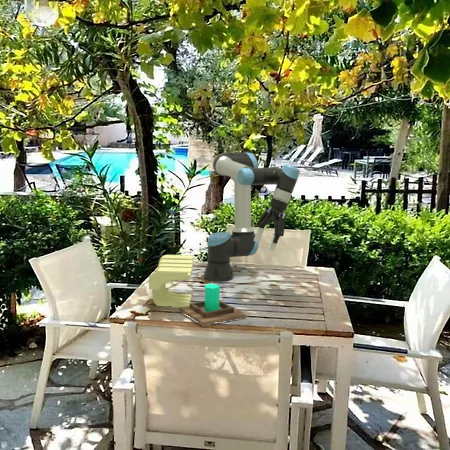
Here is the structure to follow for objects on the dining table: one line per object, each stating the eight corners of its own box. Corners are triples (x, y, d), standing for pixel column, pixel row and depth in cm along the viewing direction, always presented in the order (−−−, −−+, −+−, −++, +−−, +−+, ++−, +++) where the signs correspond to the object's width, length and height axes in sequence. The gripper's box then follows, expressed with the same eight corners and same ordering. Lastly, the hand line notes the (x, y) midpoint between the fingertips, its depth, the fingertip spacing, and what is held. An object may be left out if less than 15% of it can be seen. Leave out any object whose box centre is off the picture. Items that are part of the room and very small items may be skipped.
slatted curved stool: (159, 291, 242) (159, 254, 238) (193, 292, 241) (193, 255, 238) (148, 313, 212) (148, 271, 209) (187, 314, 212) (187, 272, 209)
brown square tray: (178, 311, 214) (178, 302, 214) (219, 304, 225) (219, 295, 224) (202, 327, 198) (203, 317, 197) (245, 318, 209) (245, 308, 208)
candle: (204, 307, 214) (204, 280, 212) (218, 307, 214) (219, 280, 212) (204, 312, 208) (205, 284, 206) (219, 312, 209) (220, 284, 206)
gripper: (302, 208, 213) (284, 255, 215) (273, 197, 235) (257, 240, 237) (288, 203, 209) (270, 251, 211) (259, 192, 232) (243, 236, 233)
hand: (263, 245), depth 224 cm, fingers open, 13 cm apart
